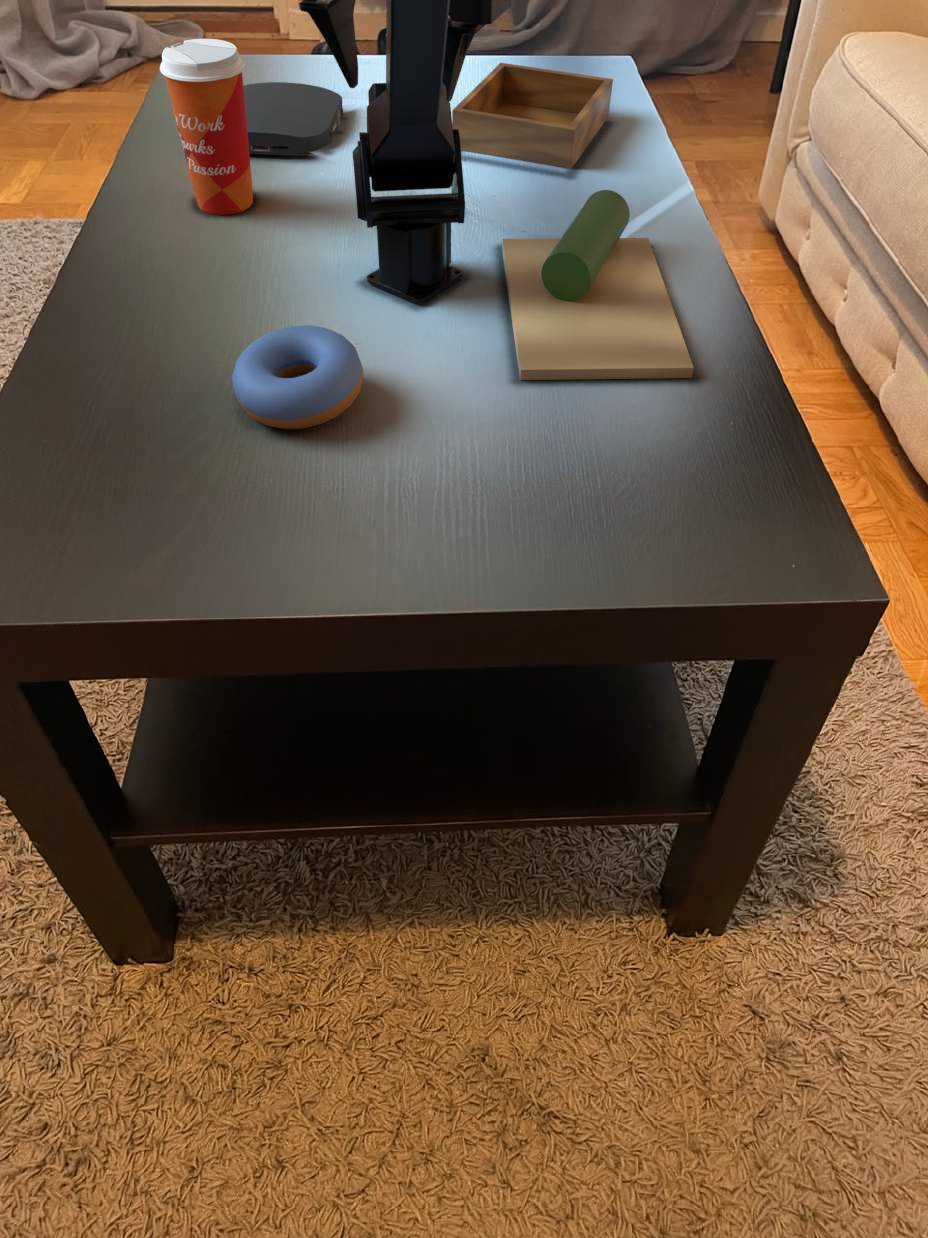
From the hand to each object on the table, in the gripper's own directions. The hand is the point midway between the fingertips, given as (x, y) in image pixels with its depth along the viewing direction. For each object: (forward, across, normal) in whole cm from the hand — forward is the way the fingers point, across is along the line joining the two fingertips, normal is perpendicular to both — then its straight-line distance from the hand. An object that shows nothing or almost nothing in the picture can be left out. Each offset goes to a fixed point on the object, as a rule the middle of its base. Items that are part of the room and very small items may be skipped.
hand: (400, 93), depth 88 cm
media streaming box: (+12, +23, -15) cm, 30 cm away
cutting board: (+12, -21, +9) cm, 26 cm away
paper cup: (+12, +19, +3) cm, 22 cm away
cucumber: (+9, -19, +10) cm, 23 cm away
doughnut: (+12, -4, +30) cm, 33 cm away
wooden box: (+12, -5, -24) cm, 28 cm away
